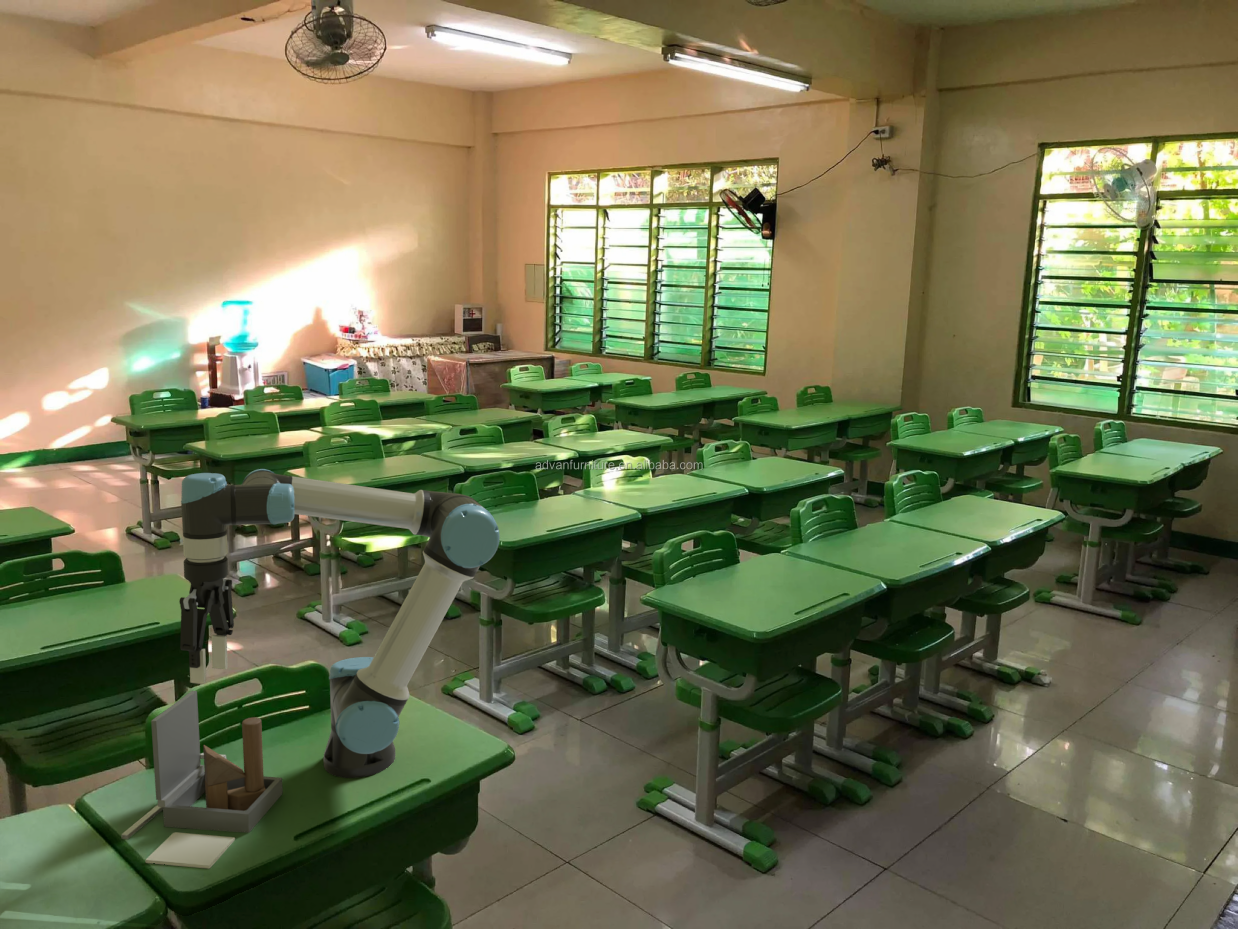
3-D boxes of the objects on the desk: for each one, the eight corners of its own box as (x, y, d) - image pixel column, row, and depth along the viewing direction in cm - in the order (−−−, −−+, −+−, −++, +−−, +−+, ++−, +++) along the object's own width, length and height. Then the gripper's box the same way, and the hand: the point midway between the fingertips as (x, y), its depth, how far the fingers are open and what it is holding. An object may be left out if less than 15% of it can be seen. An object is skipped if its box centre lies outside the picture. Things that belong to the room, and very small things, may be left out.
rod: (161, 807, 188) (161, 801, 188) (167, 807, 188) (166, 802, 188) (121, 840, 177) (121, 834, 176) (127, 841, 176) (127, 835, 176)
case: (284, 794, 194) (280, 695, 190) (249, 833, 179) (244, 727, 176) (199, 787, 195) (194, 689, 192) (157, 825, 181) (151, 720, 177)
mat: (235, 840, 177) (234, 837, 177) (209, 868, 168) (209, 865, 168) (174, 835, 178) (173, 832, 178) (145, 862, 169) (145, 859, 169)
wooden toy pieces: (206, 812, 186) (201, 726, 183) (263, 798, 192) (260, 714, 189) (209, 820, 183) (204, 733, 180) (267, 806, 189) (264, 722, 186)
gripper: (216, 543, 185) (219, 655, 189) (154, 569, 166) (159, 693, 170) (252, 546, 184) (254, 658, 188) (194, 572, 165) (198, 697, 169)
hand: (209, 675), depth 179 cm, fingers open, 7 cm apart
